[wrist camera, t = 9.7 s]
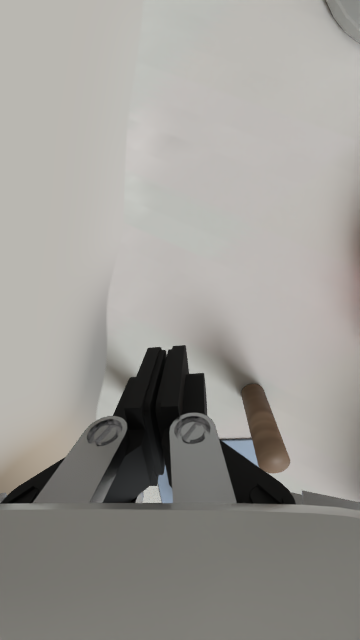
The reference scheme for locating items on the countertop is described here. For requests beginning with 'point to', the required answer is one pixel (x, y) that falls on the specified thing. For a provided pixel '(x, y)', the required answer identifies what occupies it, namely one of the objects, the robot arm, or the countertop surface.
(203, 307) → the countertop surface
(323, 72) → the countertop surface
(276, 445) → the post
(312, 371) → the countertop surface
